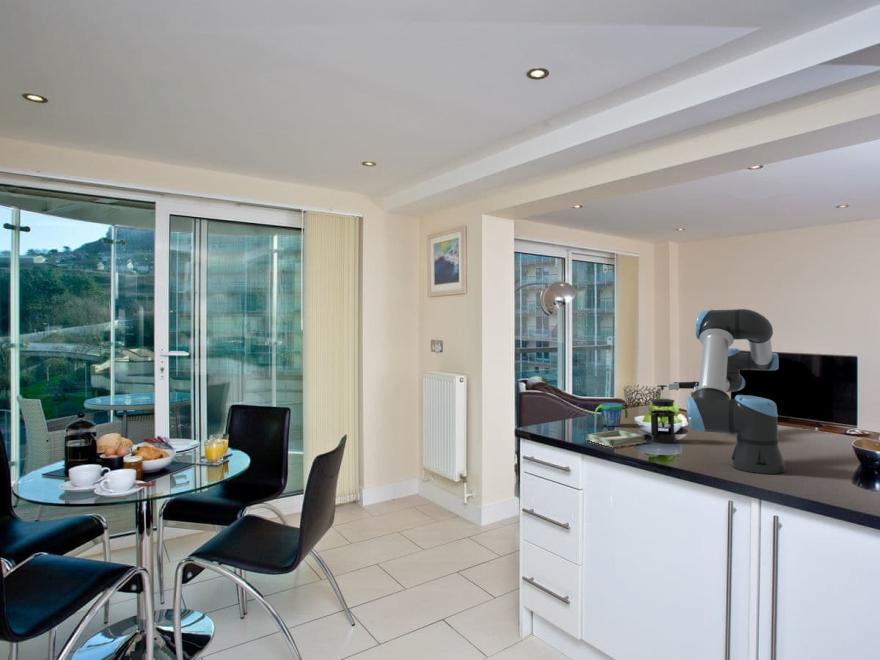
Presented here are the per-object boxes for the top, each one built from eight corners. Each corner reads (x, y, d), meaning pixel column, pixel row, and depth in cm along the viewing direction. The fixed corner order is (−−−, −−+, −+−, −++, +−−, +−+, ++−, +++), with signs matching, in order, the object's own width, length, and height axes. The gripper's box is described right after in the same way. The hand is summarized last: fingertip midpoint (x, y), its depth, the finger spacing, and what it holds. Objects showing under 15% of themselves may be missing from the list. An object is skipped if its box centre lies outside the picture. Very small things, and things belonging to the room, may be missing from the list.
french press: (662, 437, 217) (661, 383, 217) (682, 441, 209) (680, 385, 209) (643, 440, 211) (642, 385, 211) (663, 444, 203) (661, 387, 203)
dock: (646, 443, 206) (646, 436, 206) (612, 448, 199) (612, 440, 199) (617, 436, 221) (617, 429, 221) (585, 440, 213) (584, 433, 213)
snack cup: (597, 428, 241) (596, 406, 241) (592, 423, 251) (592, 403, 251) (631, 427, 239) (630, 406, 239) (625, 423, 250) (624, 402, 250)
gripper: (742, 396, 213) (707, 401, 204) (691, 390, 236) (657, 394, 227) (741, 378, 213) (706, 382, 204) (690, 374, 236) (657, 377, 227)
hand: (680, 388), depth 215 cm, fingers open, 13 cm apart
